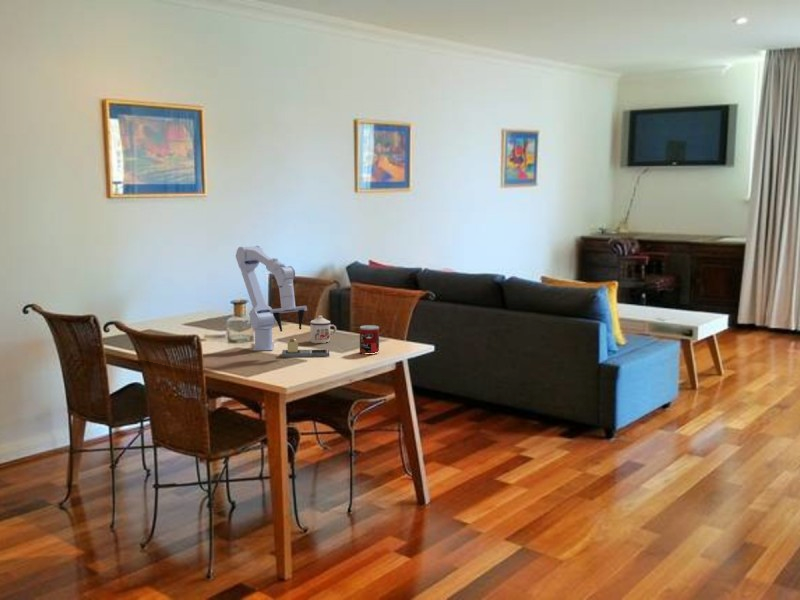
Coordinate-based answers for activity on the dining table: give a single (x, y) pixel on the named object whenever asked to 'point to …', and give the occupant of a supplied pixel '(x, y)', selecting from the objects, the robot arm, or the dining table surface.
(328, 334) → the teacup with lid
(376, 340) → the canned food
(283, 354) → the plate with square holes
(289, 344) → the cube with round knob
